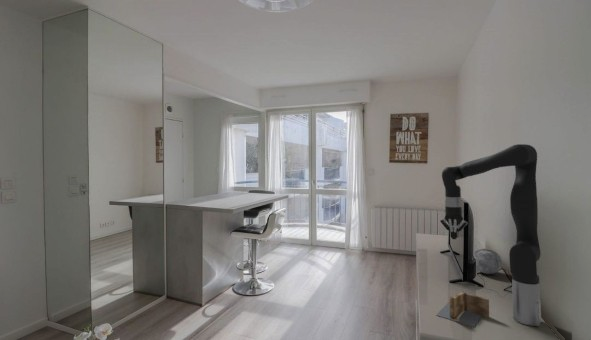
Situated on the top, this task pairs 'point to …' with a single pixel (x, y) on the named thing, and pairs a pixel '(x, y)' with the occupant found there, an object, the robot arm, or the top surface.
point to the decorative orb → (487, 261)
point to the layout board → (460, 316)
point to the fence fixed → (476, 304)
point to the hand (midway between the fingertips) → (454, 238)
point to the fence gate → (456, 304)
